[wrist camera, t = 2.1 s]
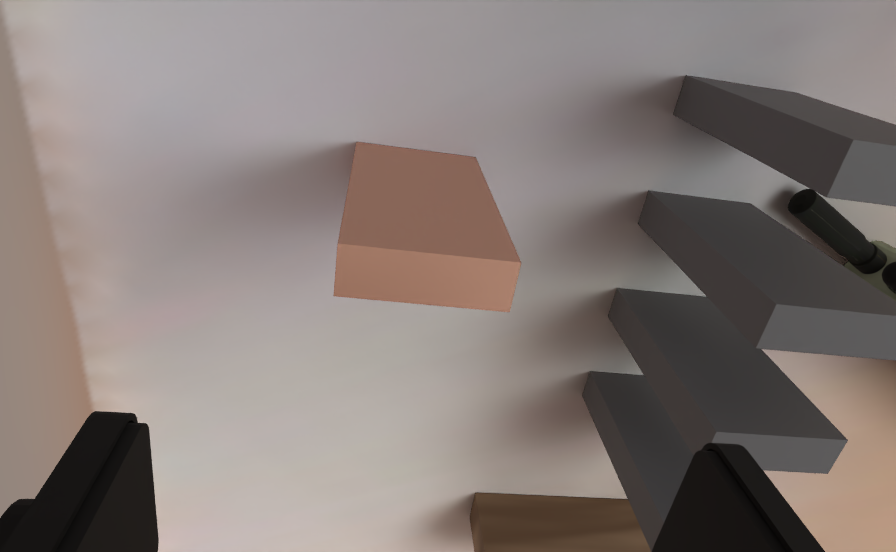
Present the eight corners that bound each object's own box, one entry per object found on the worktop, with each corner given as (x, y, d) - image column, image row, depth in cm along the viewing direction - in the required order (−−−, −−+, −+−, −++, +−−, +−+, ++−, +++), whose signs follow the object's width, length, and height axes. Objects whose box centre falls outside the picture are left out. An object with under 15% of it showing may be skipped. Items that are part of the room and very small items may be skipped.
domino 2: (590, 371, 31) (668, 533, 22) (678, 378, 32) (789, 537, 23) (582, 395, 32) (655, 561, 23) (669, 401, 33) (772, 564, 24)
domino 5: (617, 288, 29) (716, 431, 20) (711, 297, 30) (848, 440, 21) (608, 316, 30) (700, 466, 21) (700, 324, 30) (827, 473, 22)
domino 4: (648, 190, 27) (776, 304, 18) (750, 203, 27) (921, 318, 19) (638, 223, 27) (755, 348, 19) (737, 235, 28) (896, 360, 19)
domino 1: (356, 141, 24) (337, 243, 16) (475, 157, 25) (520, 262, 16) (353, 179, 25) (333, 295, 16) (469, 193, 26) (509, 312, 17)
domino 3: (685, 75, 24) (853, 139, 16) (795, 92, 25) (1015, 163, 16) (673, 114, 25) (826, 197, 16) (780, 130, 26) (982, 217, 17)
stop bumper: (475, 492, 35) (488, 570, 30) (698, 502, 37) (740, 576, 32) (469, 516, 35) (480, 595, 31) (687, 525, 38) (727, 600, 33)
